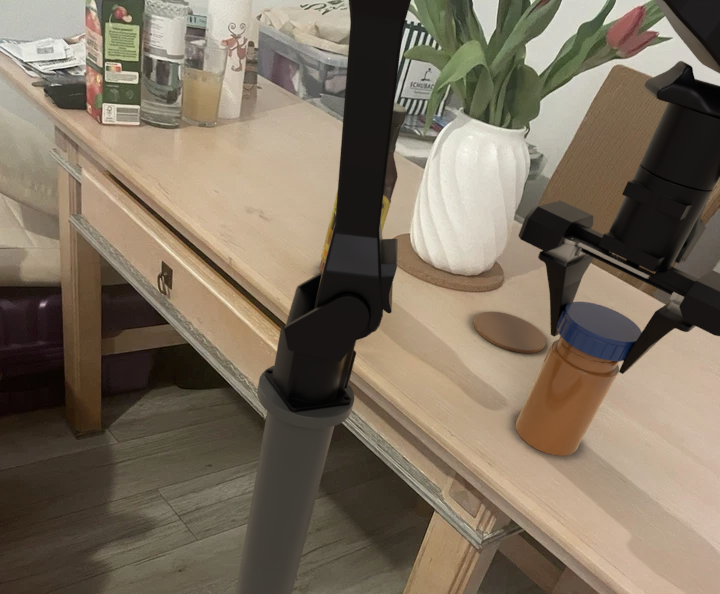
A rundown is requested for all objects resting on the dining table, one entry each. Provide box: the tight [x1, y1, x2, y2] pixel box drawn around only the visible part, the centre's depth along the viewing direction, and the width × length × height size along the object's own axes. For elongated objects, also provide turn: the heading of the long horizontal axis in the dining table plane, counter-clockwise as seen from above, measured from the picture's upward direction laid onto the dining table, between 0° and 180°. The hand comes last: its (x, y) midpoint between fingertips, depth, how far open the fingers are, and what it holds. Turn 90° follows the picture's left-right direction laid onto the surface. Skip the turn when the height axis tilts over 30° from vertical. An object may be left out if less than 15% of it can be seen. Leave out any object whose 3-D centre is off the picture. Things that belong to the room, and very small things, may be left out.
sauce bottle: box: [319, 101, 408, 273], centre depth 79 cm, size 7×6×20 cm
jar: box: [515, 335, 621, 456], centre depth 65 cm, size 6×6×11 cm
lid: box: [557, 301, 642, 362], centre depth 61 cm, size 7×7×2 cm
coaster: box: [473, 311, 547, 354], centre depth 84 cm, size 9×9×1 cm
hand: (588, 353), depth 63 cm, fingers closed on lid, 7 cm apart
